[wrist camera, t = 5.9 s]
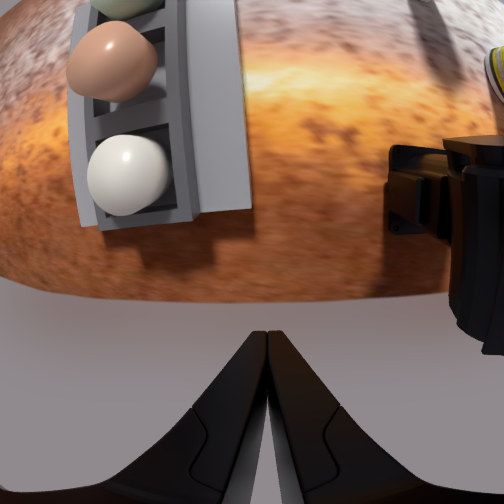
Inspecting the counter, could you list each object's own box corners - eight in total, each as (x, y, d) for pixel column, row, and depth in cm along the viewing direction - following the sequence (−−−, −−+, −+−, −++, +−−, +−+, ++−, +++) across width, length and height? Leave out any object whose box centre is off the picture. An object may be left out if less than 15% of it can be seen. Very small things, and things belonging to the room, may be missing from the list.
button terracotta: (157, 29, 10) (138, 9, 7) (159, 92, 11) (136, 81, 9) (95, 51, 10) (69, 39, 8) (94, 111, 11) (65, 107, 9)
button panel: (233, -22, 12) (227, -55, 7) (252, 201, 18) (250, 216, 14) (91, 17, 12) (62, 0, 8) (99, 218, 19) (65, 235, 14)
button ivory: (169, 130, 13) (151, 126, 11) (177, 200, 15) (161, 211, 12) (108, 144, 13) (83, 145, 11) (117, 209, 15) (93, 220, 12)
